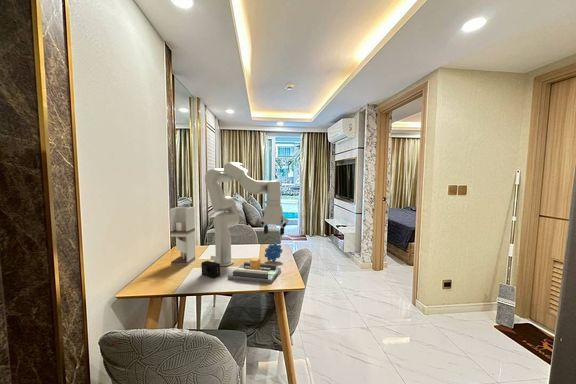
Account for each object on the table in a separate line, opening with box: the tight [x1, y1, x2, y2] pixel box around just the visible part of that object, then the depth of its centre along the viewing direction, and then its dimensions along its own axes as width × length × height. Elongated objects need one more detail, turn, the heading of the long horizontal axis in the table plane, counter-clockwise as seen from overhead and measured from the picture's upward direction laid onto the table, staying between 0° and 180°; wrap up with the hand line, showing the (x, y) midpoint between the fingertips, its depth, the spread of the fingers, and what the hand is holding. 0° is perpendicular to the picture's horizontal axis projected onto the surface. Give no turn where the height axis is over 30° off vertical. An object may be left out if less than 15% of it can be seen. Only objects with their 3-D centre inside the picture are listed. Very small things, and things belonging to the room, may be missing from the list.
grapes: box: [264, 242, 283, 262], centre depth 167 cm, size 12×7×12 cm, turn 94°
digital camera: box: [200, 260, 221, 279], centre depth 140 cm, size 10×5×7 cm, turn 57°
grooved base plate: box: [232, 261, 277, 278], centre depth 141 cm, size 19×16×3 cm
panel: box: [227, 264, 282, 284], centre depth 141 cm, size 24×18×3 cm
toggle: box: [249, 257, 262, 271], centre depth 141 cm, size 6×5×7 cm
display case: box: [169, 206, 196, 266], centre depth 163 cm, size 11×11×35 cm
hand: (274, 234), depth 141 cm, fingers open, 9 cm apart
